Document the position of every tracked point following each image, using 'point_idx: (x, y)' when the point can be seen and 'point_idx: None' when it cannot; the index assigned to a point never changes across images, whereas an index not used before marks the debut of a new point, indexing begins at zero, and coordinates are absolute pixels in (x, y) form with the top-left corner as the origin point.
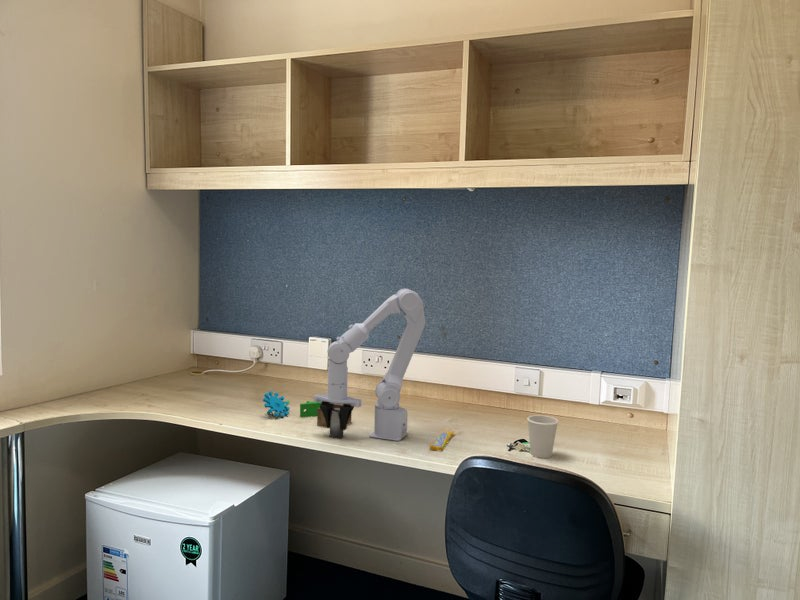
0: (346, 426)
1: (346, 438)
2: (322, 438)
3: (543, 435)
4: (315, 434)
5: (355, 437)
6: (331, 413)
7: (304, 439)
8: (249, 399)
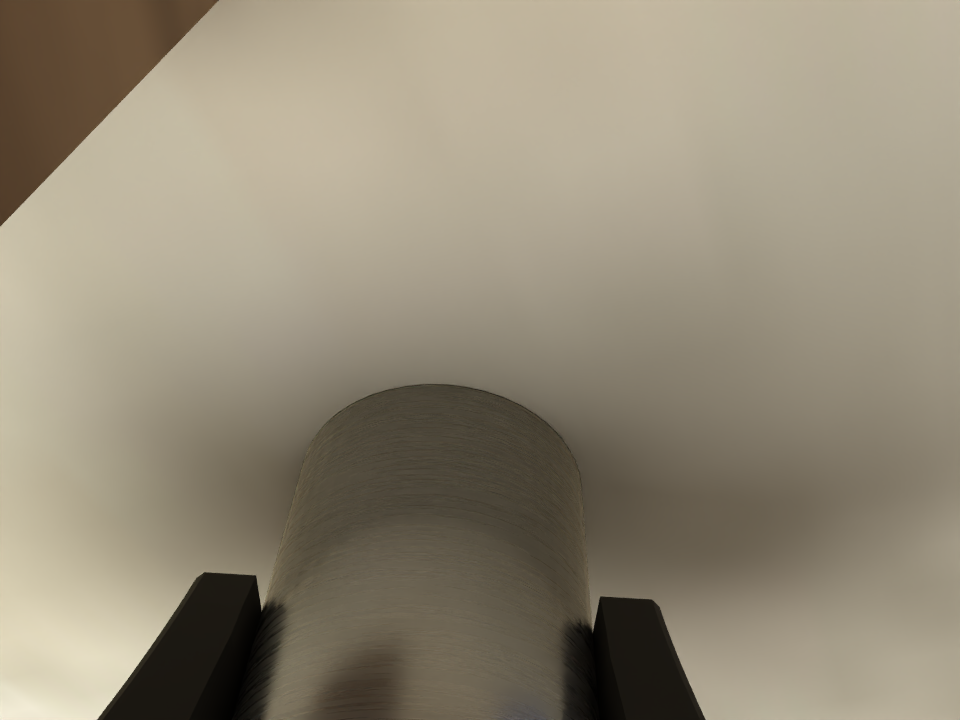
0: (671, 650)
1: (674, 528)
2: None
3: None
4: (8, 507)
5: (850, 437)
6: None
7: (51, 711)
8: None
